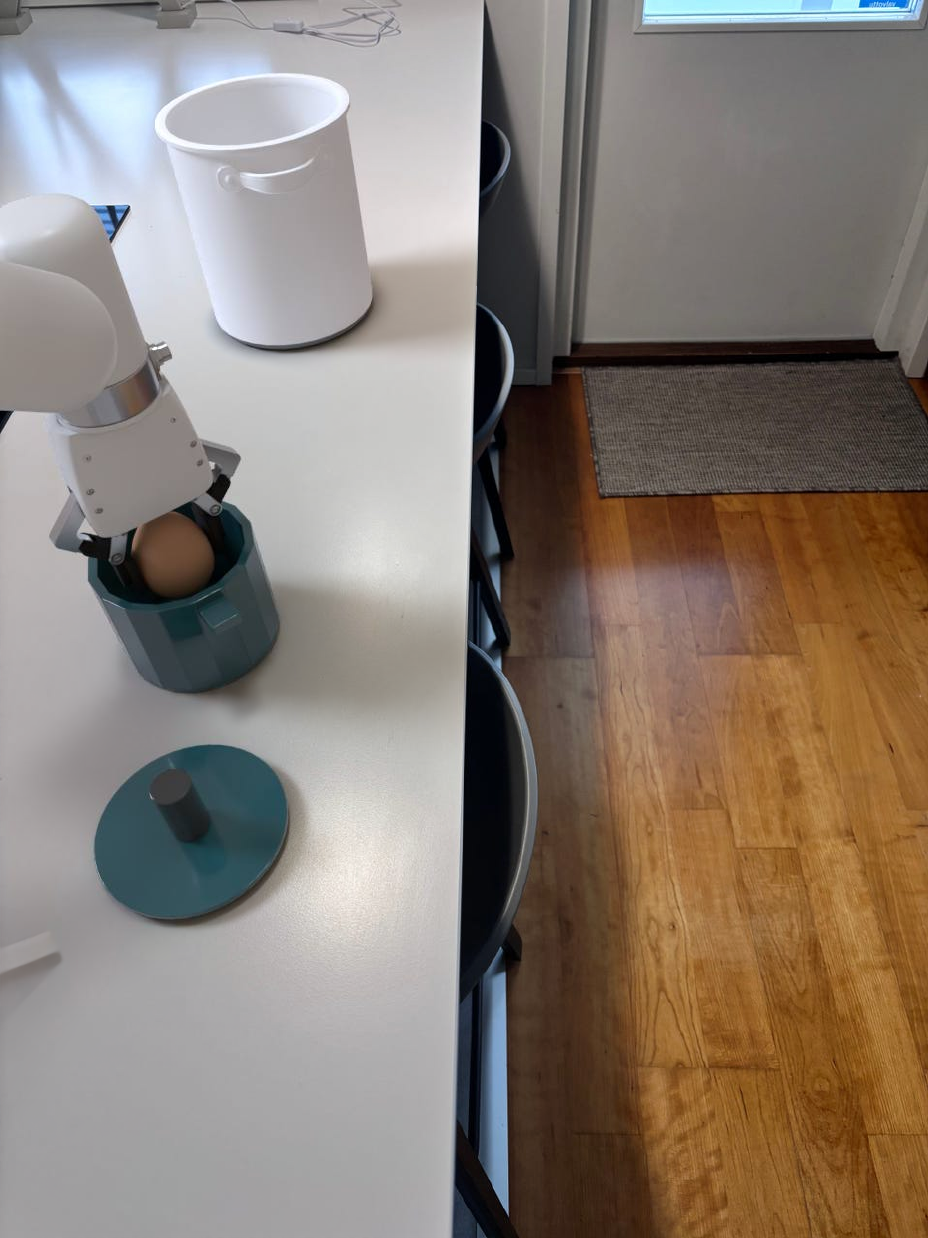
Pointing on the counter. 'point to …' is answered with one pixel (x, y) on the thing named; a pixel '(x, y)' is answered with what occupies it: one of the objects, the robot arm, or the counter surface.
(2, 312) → the robot arm
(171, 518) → the egg
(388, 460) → the counter surface
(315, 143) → the bucket
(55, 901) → the counter surface
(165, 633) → the saucepan
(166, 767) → the saucepan lid
